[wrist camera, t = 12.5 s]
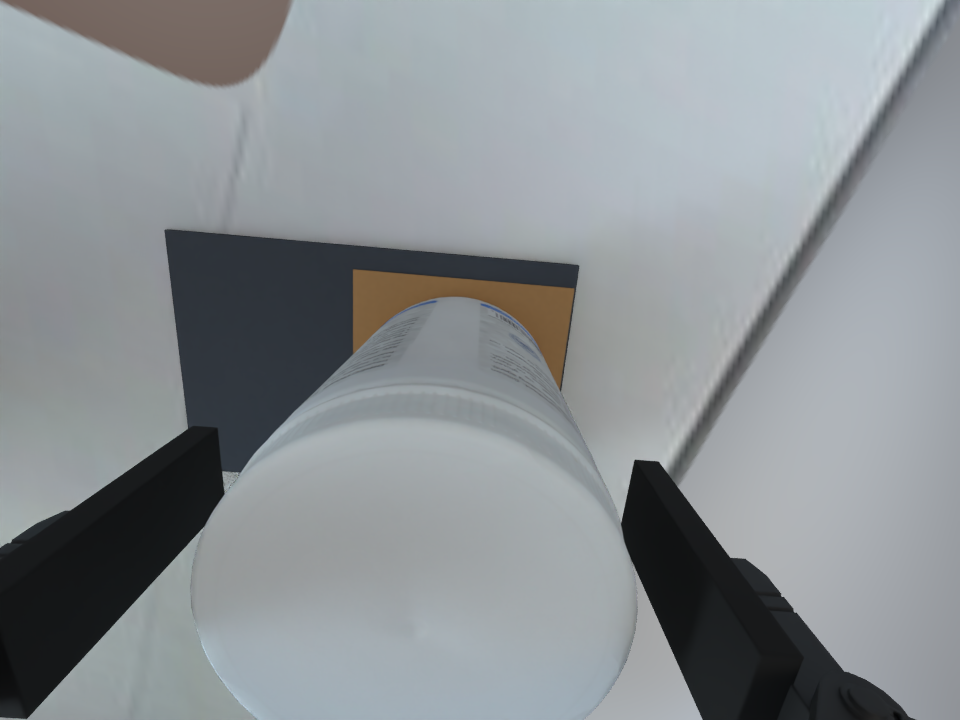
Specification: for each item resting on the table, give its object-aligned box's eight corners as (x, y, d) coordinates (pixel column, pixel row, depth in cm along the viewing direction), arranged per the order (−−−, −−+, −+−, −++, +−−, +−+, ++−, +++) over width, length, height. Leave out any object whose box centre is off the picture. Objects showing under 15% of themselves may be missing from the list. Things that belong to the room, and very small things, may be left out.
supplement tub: (373, 465, 25) (216, 788, 10) (355, 294, 22) (109, 419, 8) (548, 463, 24) (630, 791, 10) (552, 290, 22) (671, 411, 7)
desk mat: (197, 465, 25) (191, 469, 25) (169, 229, 22) (162, 229, 21) (544, 494, 25) (545, 499, 25) (577, 264, 22) (579, 265, 21)
